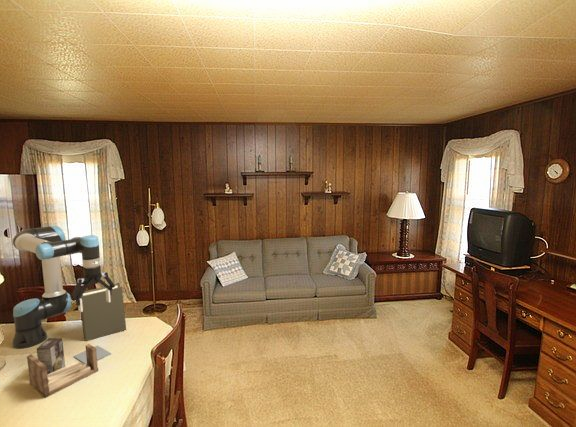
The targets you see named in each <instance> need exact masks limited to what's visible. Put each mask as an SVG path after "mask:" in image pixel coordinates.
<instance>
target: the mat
mask: <svg viewBox="0 0 576 427" xmlns="http://www.w3.org/2000/svg"><path fill="white" fill-rule="evenodd" d="M94 347H95V348H96V352H97V362H98V361H100V360H103V359H104V358H106V357H108V356H110V355H112V352H110V351H108V350H107V349H105V348H103V347H101V346H99V345H95V346H94ZM73 358H75V359H76V360H78V362H82V363H84V364H86V365H87V358H86V350H84V351H82V352H80V353H77V354H74V355H73Z"/></svg>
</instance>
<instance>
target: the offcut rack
mask: <svg viewBox="0 0 576 427" xmlns="http://www.w3.org/2000/svg"><path fill="white" fill-rule="evenodd" d="M84 348H85V351H86V358H87V365H86V364H84V363H82V362H80V361H76V362H74V363H72V364H69V365H67V366H65V367H64V368H62V369H59V370H57V371H55V372H52V373H50V374H47V367H46V365H44V364H43V363H42V362H40V361H39V360H38V357H37V358H36V356H34V355H33V354H29V355H27V356H26V359H27V368H28V377H29V384H30V386H31V387H32V388H33V389H35V390H36V391H37V392H38V393H39V394H40V395H41V396H43V398H44V399H46V398H48V397H50V396H52V395H54V394H56V393H58V392H60V391H62V390H64V389H66V388H68V387H70V386H72V385H74V384H76V383H77V382H80V381H81V380H83V379H86V378H88V377H90V376H91V375H93V374H96V373H98V372H99V367H98V366H99V365H98V361H97V352H96V348H95V346H93V345H91V344H90V343H87V344H86V345H85V346H84Z"/></svg>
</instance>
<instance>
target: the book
mask: <svg viewBox="0 0 576 427" xmlns="http://www.w3.org/2000/svg"><path fill="white" fill-rule="evenodd" d="M113 284H114V285H115V287H114V288H112V290H111V292H112V295H110V300H111V302H107V301H106V289H107V288H106V287H104V286H103V287H98V288H93V289H86V290H85V292H84V293H83V295H82V296H81V299H82V307H83V312H80V317H81V324H82V332H83V333H82V334H83V339H84V341H86V342H88V341H92V340H95V339H98V338H101V337H105V336H108V335H112V334H116V333H120V331H121V332H124V331H123V330H126V331H127V323H126V314H125V313H126V312H125V304H124V295H123V286H121V283H120V282H118V283H117V282H116V283H113Z"/></svg>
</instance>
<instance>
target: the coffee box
mask: <svg viewBox="0 0 576 427" xmlns="http://www.w3.org/2000/svg"><path fill="white" fill-rule="evenodd" d="M64 352H65V351H64V342H63V338H62V337H60V338H59V337H53V338H52V337H51V338H48V339H47V340H46V339H45V340H44V341H43V342H42V343H41V344H40V345H39V346H38V347H37V348H36V354H37V355H36V356H37V359H38V360H39V361H40V362H42V363H43V364H44V365H46V367H47V374H50V373H52V372H55V371H57V370H59V369H62V368H64V367H66V363H65V362H66V360H65V353H64Z"/></svg>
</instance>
